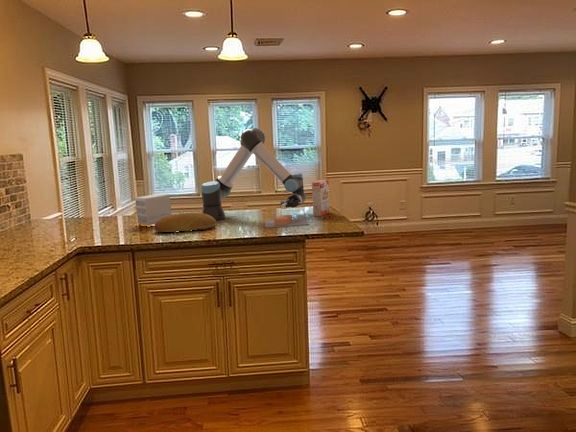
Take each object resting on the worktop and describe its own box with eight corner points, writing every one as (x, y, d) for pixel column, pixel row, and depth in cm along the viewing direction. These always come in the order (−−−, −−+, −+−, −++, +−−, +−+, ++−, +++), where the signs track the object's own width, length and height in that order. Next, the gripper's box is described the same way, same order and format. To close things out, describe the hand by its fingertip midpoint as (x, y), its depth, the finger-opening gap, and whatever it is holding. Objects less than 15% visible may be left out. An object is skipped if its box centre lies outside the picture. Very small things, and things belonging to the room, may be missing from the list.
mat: (265, 228, 260) (265, 227, 260) (265, 221, 279) (265, 220, 279) (308, 225, 261) (308, 223, 261) (305, 219, 280) (305, 218, 280)
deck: (280, 215, 275) (273, 219, 264) (292, 215, 273) (285, 218, 262) (280, 221, 275) (274, 225, 264) (292, 220, 273) (286, 225, 262)
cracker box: (322, 216, 284) (320, 182, 281) (313, 216, 287) (311, 182, 283) (330, 212, 297) (328, 179, 293) (321, 212, 299) (319, 179, 296)
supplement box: (162, 221, 307) (159, 193, 304) (173, 222, 298) (170, 194, 295) (137, 225, 295) (134, 197, 292) (148, 227, 286) (144, 198, 283)
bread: (215, 230, 265) (214, 212, 263) (152, 235, 262) (150, 218, 260) (217, 224, 283) (216, 208, 281) (158, 229, 280) (156, 212, 278)
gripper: (304, 206, 288) (294, 213, 266) (284, 206, 292) (272, 213, 270) (304, 194, 287) (293, 200, 265) (283, 194, 291) (271, 200, 269)
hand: (282, 207), depth 268 cm, fingers closed
